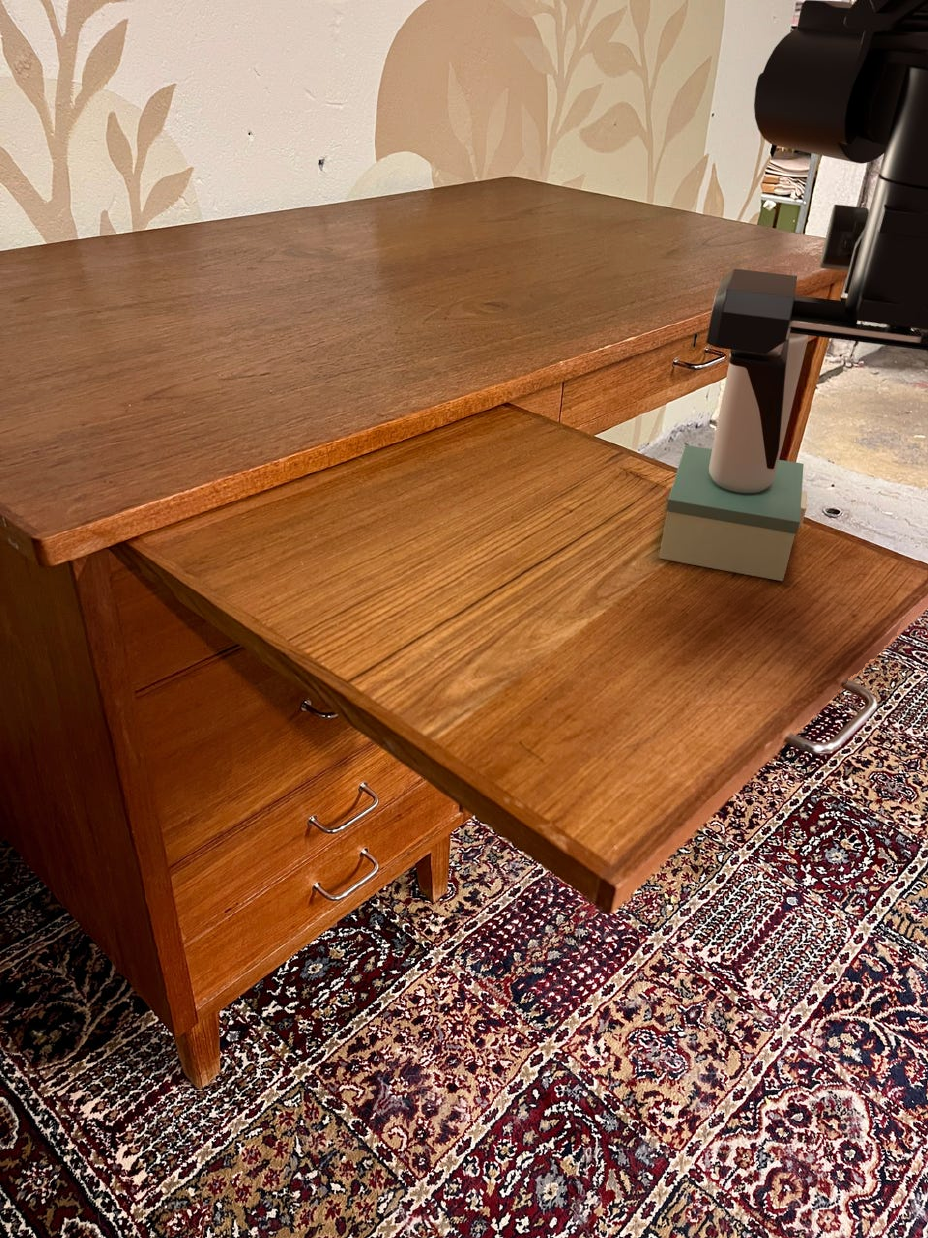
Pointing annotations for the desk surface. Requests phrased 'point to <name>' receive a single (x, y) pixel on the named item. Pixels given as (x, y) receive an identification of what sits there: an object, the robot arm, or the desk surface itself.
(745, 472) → the beverage can
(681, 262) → the desk surface
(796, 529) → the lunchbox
